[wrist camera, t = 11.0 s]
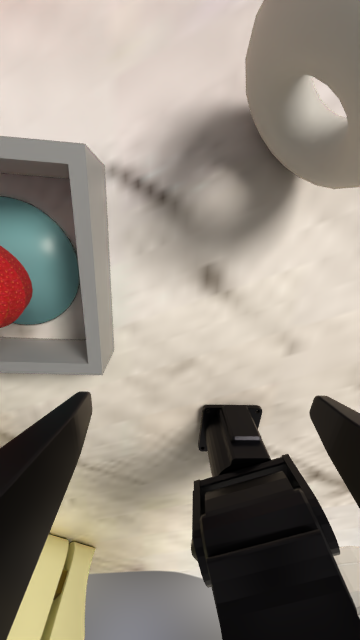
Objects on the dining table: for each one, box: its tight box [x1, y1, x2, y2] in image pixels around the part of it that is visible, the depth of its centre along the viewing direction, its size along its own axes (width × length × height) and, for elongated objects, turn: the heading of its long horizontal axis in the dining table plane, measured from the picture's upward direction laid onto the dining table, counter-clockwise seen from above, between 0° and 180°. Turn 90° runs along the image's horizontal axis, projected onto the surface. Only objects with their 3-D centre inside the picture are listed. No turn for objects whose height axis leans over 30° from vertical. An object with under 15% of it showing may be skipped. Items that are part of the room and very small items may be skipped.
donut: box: [246, 0, 360, 189], centre depth 11 cm, size 10×3×10 cm, turn 49°
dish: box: [333, 546, 360, 618], centre depth 38 cm, size 22×22×5 cm
